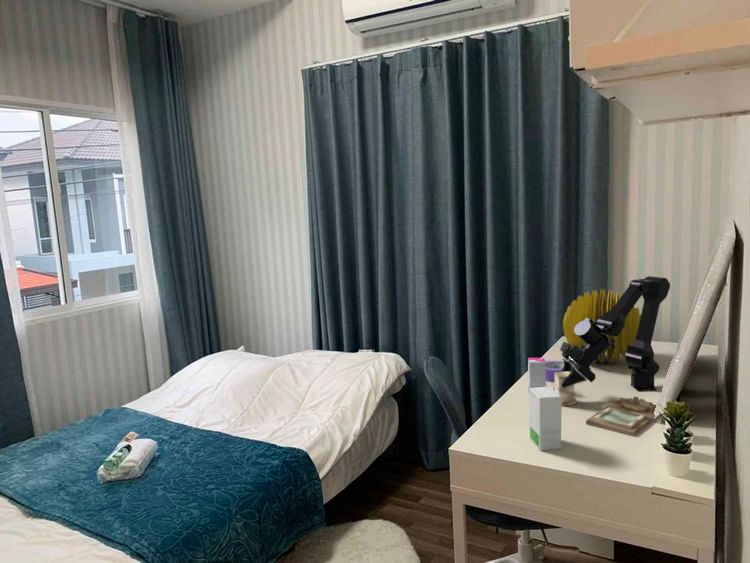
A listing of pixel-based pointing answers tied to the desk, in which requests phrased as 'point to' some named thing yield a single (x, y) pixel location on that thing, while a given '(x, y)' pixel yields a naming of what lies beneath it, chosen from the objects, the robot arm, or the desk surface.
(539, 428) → the skincare box
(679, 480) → the desk surface
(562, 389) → the marble stone block
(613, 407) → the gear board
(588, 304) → the lamp
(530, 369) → the supplement box
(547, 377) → the tape roll
